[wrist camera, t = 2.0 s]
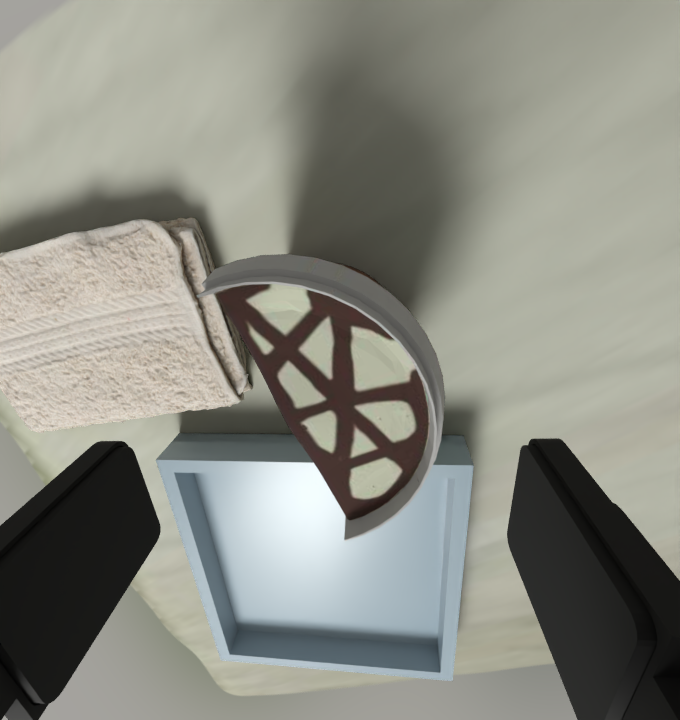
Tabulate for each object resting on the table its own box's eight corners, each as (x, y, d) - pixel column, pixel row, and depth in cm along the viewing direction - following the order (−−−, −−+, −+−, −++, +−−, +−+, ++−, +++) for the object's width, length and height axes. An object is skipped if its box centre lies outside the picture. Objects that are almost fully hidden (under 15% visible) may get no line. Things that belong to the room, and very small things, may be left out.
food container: (452, 390, 23) (498, 515, 14) (362, 420, 24) (350, 550, 15) (375, 194, 19) (369, 186, 10) (274, 245, 20) (186, 280, 11)
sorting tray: (463, 435, 24) (473, 465, 21) (446, 640, 32) (452, 681, 30) (179, 433, 26) (155, 459, 24) (233, 624, 35) (220, 660, 32)
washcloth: (267, 386, 25) (252, 409, 22) (52, 424, 28) (16, 448, 25) (201, 200, 20) (171, 200, 17) (-43, 272, 24) (-100, 282, 21)
